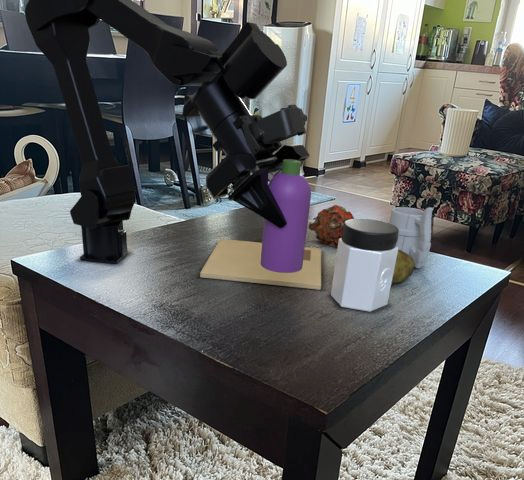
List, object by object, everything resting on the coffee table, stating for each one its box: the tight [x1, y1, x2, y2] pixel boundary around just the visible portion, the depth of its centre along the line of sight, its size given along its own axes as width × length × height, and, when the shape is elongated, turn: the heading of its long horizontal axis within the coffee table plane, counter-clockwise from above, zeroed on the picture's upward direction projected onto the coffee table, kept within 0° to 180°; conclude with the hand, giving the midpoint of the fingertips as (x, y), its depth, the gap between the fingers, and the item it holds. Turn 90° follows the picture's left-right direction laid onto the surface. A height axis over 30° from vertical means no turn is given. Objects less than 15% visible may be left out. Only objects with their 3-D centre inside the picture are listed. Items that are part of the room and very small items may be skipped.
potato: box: [391, 249, 415, 285], centre depth 91 cm, size 8×13×8 cm, turn 92°
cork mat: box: [199, 238, 322, 291], centre depth 96 cm, size 20×20×1 cm
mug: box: [388, 206, 434, 269], centre depth 99 cm, size 8×12×12 cm, turn 17°
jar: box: [330, 218, 399, 313], centre depth 81 cm, size 9×8×12 cm
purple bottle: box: [260, 159, 312, 273], centre depth 73 cm, size 6×6×14 cm
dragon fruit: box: [307, 204, 355, 248], centre depth 109 cm, size 8×8×12 cm
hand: (294, 221), depth 72 cm, fingers closed on purple bottle, 6 cm apart
